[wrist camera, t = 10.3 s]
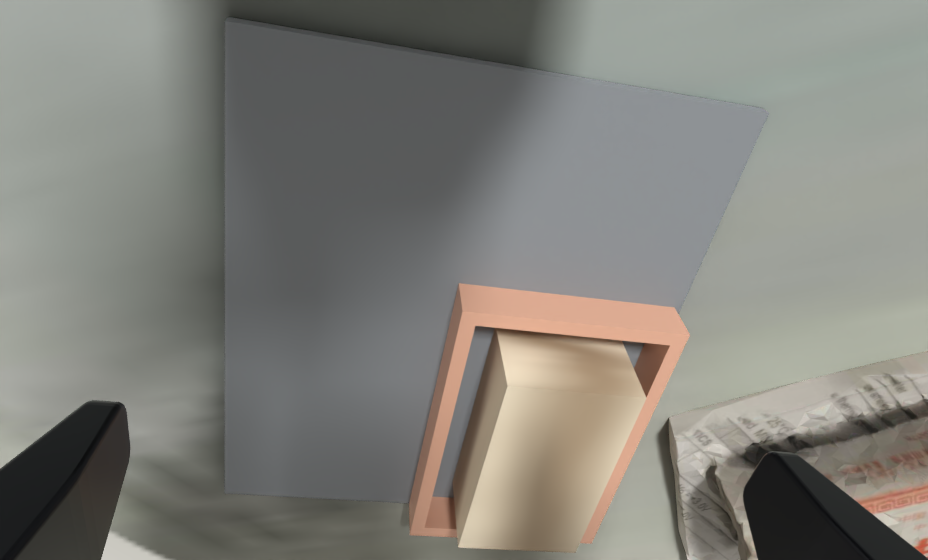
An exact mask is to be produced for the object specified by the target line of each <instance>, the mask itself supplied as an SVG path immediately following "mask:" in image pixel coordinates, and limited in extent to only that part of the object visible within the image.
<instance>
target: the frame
mask: <svg viewBox="0 0 928 560" xmlns="http://www.w3.org/2000/svg"><path fill="white" fill-rule="evenodd" d="M475 326H483V327H493V328H503V329H513V330H523V331H533V332H543V333H552V334H562V335H572V336H582V337H592V338H602V339H612V340H621V341H631V342H641V343H645V344H644V346H643V348H642V351H641V353H640V355H639V358H638V360H637V362H636V365H635V367H634V370H635V373H636V375H637V377H638V380H639V382H640V384H641V387H642V389H643V391H644V394H645V396H646V400H645V403H644V405H643V407H642V409H641V411H640V413H639V416H638V418H637V420H636V422H635V424H634V427H633V429H632V431H631V433H630V435H629V437H628V440H627V442H626V444H625V446H624V448H623V450H622V453H621V455H620V457H619V459H618V461H617V463H616V466H615V468H614V470H613V472H612V474H611V477H610V479H609V481H608V483H607V485H606V487H605V490H604V492H603V494H602V496H601V498H600V500H599V503H598V505H597V507H596V509H595V511H594V513H593V516H592V518H591V520H590V522H589V524H588V527H587V529H586V531H585V533H584V535H583V537H582V540H581V542H580V543H590V544H591V543H592V541H593V539H594V537H595V535H596V533H597V531H598V529H599V527H600V524H601V522H602V520H603V518H604V516H605V514H606V512H607V510H608V507H609V505H610V503H611V501H612V499H613V497H614V495H615V493H616V491H617V488H618V486H619V484H620V482H621V480H622V478H623V476H624V474H625V472H626V469H627V467H628V465H629V463H630V461H631V459H632V457H633V455H634V452H635V450H636V448H637V446H638V444H639V442H640V440H641V438H642V436H643V433H644V431H645V429H646V427H647V425H648V423H649V421H650V419H651V416H652V414H653V412H654V410H655V408H656V406H657V404H658V402H659V400H660V397H661V395H662V393H663V391H664V389H665V387H666V385H667V383H668V380H669V378H670V376H671V374H672V372H673V370H674V368H675V366H676V364H677V361H678V359H679V357H680V355H681V353H682V351H683V349H684V347H685V345H686V342H687V340H688V338H689V336H690V334H689V332H688V331H687V329H686V327H685V325H684V323H683V322H682V320H681V318H680V316H679V315H678V313H677V311H676V309H675V308H674V307H667V306H658V305H649V304H640V303H631V302H622V301H613V300H604V299H595V298H586V297H577V296H568V295H559V294H550V293H542V292H533V291H524V290H515V289H506V288H497V287H488V286H479V285H470V284H461V283H459V285H458V289H457V294H456V298H455V302H454V307H453V311H452V316H451V320H450V324H449V329H448V333H447V338H446V342H445V347H444V351H443V355H442V360H441V364H440V369H439V373H438V378H437V382H436V386H435V391H434V395H433V400H432V404H431V409H430V413H429V417H428V422H427V426H426V431H425V435H424V439H423V444H422V448H421V453H420V457H419V462H418V466H417V470H416V475H415V479H414V484H413V488H412V493H411V497H410V501H409V524H410V535H416V536H438V537H457V528H456V516H455V505H454V498H449V497H432V496H433V492H434V488H435V484H436V480H437V476H438V472H439V468H440V464H441V460H442V456H443V452H444V448H445V444H446V440H447V436H448V432H449V428H450V424H451V420H452V417H453V413H454V409H455V405H456V401H457V397H458V393H459V389H460V385H461V381H462V377H463V373H464V369H465V365H466V361H467V357H468V353H469V349H470V345H471V341H472V337H473V333H474V329H475Z"/></svg>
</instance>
